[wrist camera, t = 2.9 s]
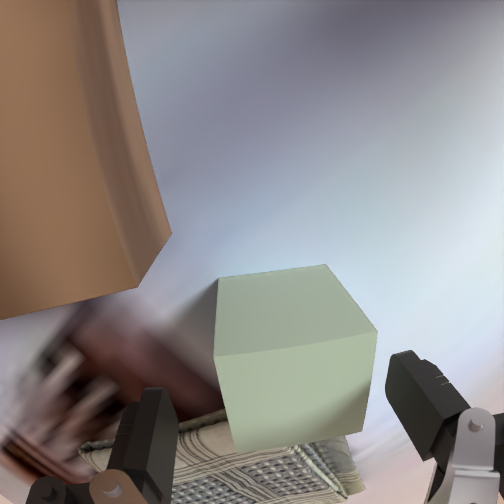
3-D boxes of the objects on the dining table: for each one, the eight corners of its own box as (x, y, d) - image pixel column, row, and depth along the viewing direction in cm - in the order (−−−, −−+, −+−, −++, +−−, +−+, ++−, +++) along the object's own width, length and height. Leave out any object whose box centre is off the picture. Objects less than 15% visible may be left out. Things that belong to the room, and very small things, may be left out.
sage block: (325, 263, 15) (377, 330, 9) (326, 349, 16) (362, 431, 10) (218, 277, 14) (213, 356, 9) (233, 362, 16) (236, 452, 10)
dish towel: (201, 522, 24) (200, 545, 21) (78, 435, 18) (67, 465, 15) (369, 475, 22) (379, 500, 19) (308, 359, 17) (322, 397, 14)
